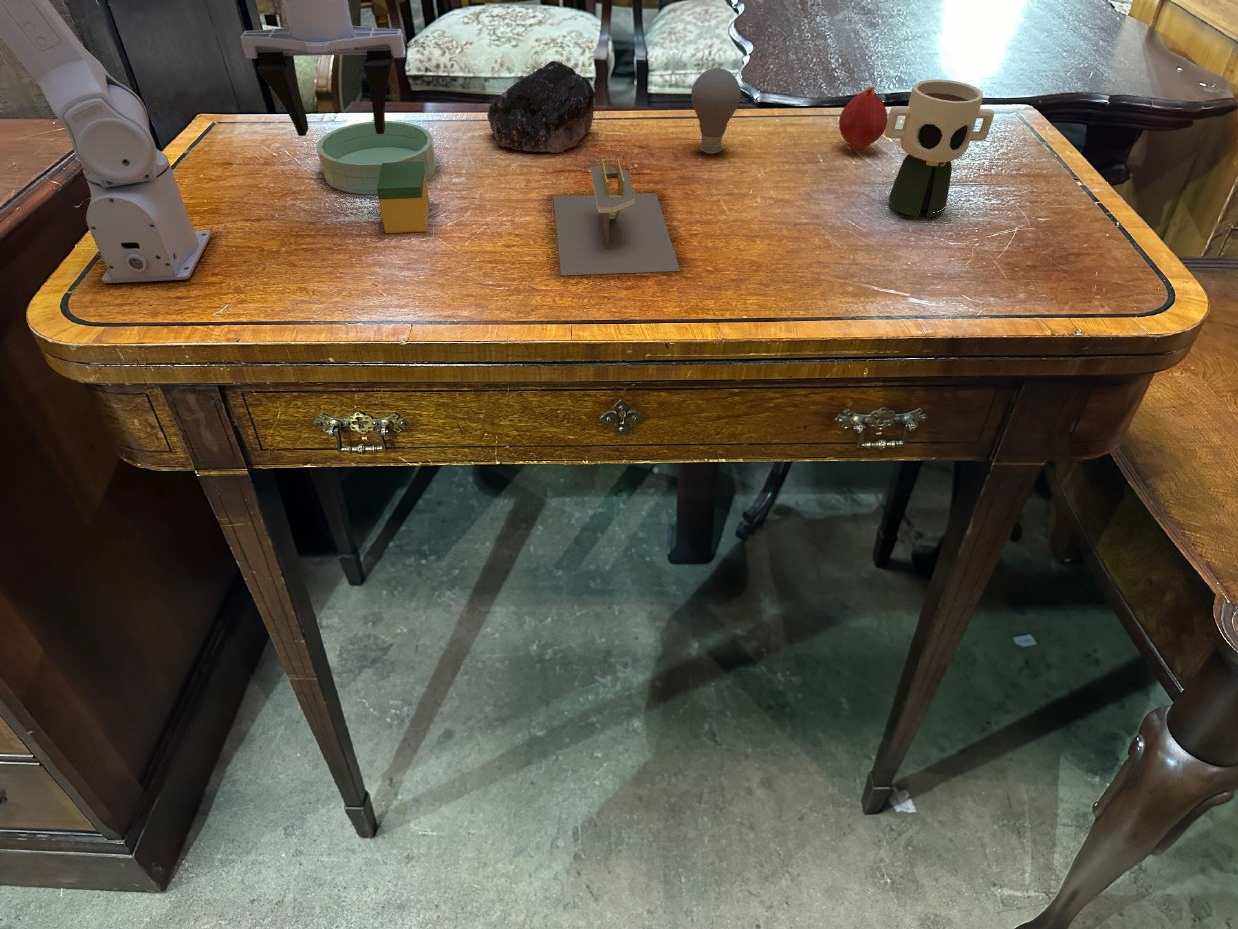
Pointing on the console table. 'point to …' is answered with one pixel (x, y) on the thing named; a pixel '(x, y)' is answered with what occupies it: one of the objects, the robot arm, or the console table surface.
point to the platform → (612, 229)
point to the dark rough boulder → (544, 110)
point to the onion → (863, 120)
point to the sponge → (403, 197)
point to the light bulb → (715, 105)
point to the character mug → (934, 141)
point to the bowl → (372, 153)
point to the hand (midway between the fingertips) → (342, 131)
